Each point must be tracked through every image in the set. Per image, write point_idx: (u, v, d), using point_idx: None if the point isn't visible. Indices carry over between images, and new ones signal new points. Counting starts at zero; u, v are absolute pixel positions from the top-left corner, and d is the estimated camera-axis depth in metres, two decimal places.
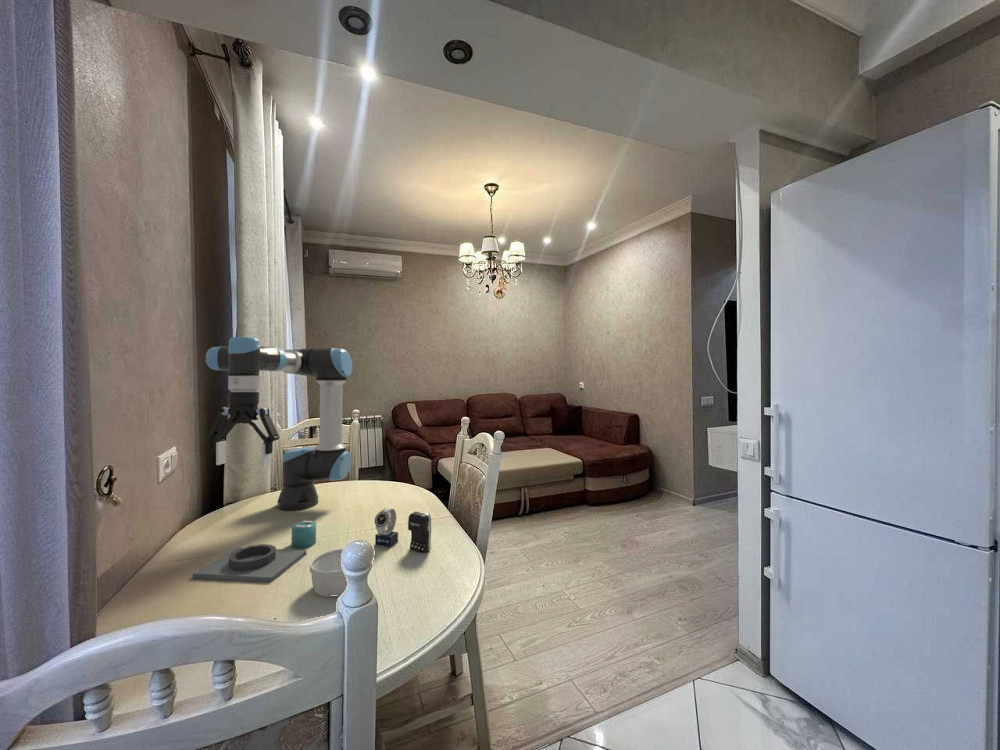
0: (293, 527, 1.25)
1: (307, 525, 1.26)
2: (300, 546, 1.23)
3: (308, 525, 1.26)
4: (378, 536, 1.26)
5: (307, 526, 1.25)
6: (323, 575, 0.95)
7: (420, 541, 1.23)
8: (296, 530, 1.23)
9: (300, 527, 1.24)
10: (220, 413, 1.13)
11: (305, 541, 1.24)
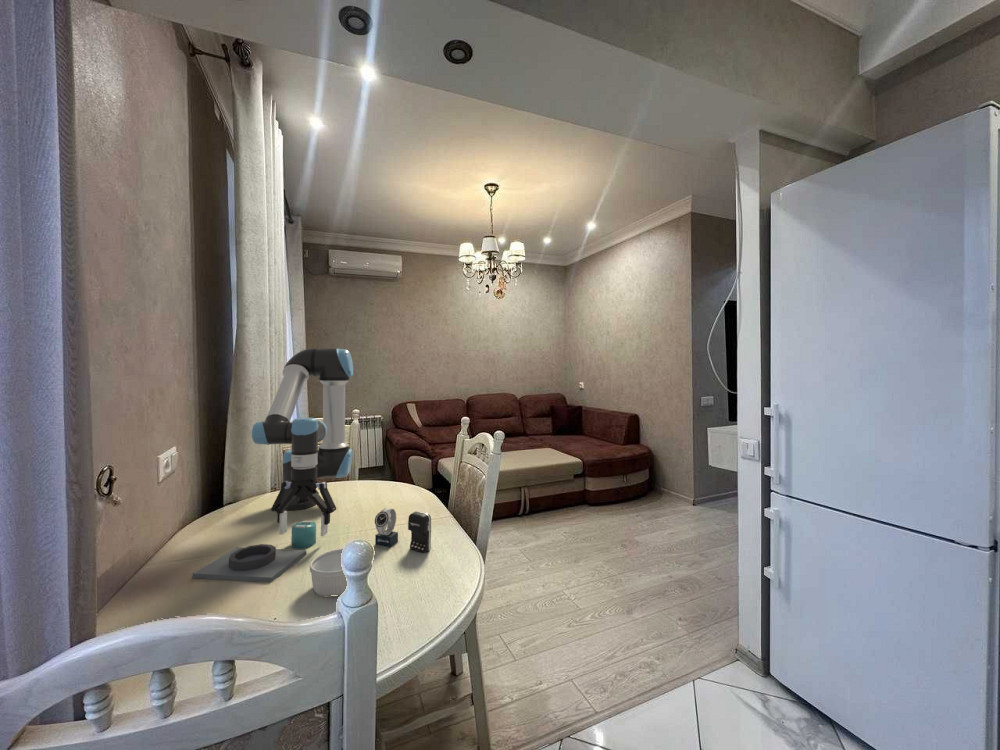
0: (293, 527, 1.25)
1: (307, 525, 1.26)
2: (300, 546, 1.23)
3: (308, 525, 1.26)
4: (378, 536, 1.26)
5: (307, 526, 1.25)
6: (323, 575, 0.95)
7: (420, 541, 1.23)
8: (296, 530, 1.23)
9: (300, 527, 1.24)
10: (283, 487, 1.26)
11: (305, 541, 1.24)
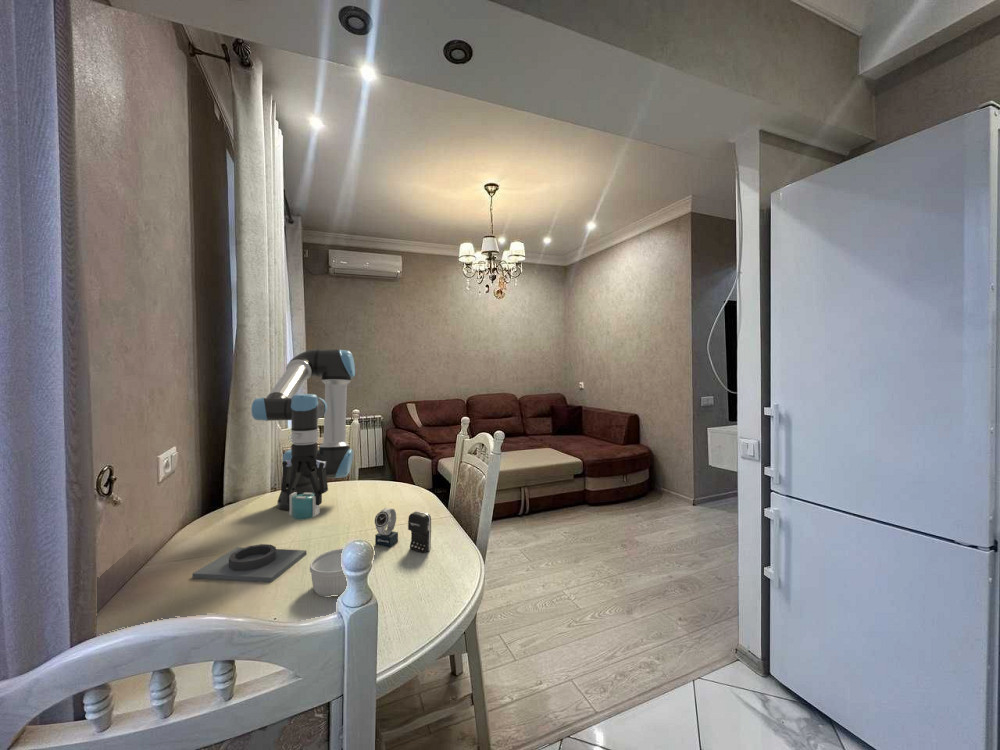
0: (294, 498, 1.25)
1: (308, 497, 1.27)
2: (301, 517, 1.24)
3: (309, 497, 1.27)
4: (378, 536, 1.26)
5: (308, 497, 1.26)
6: (323, 575, 0.95)
7: (420, 541, 1.23)
8: (297, 501, 1.23)
9: (301, 498, 1.24)
10: (285, 466, 1.26)
11: (306, 512, 1.24)
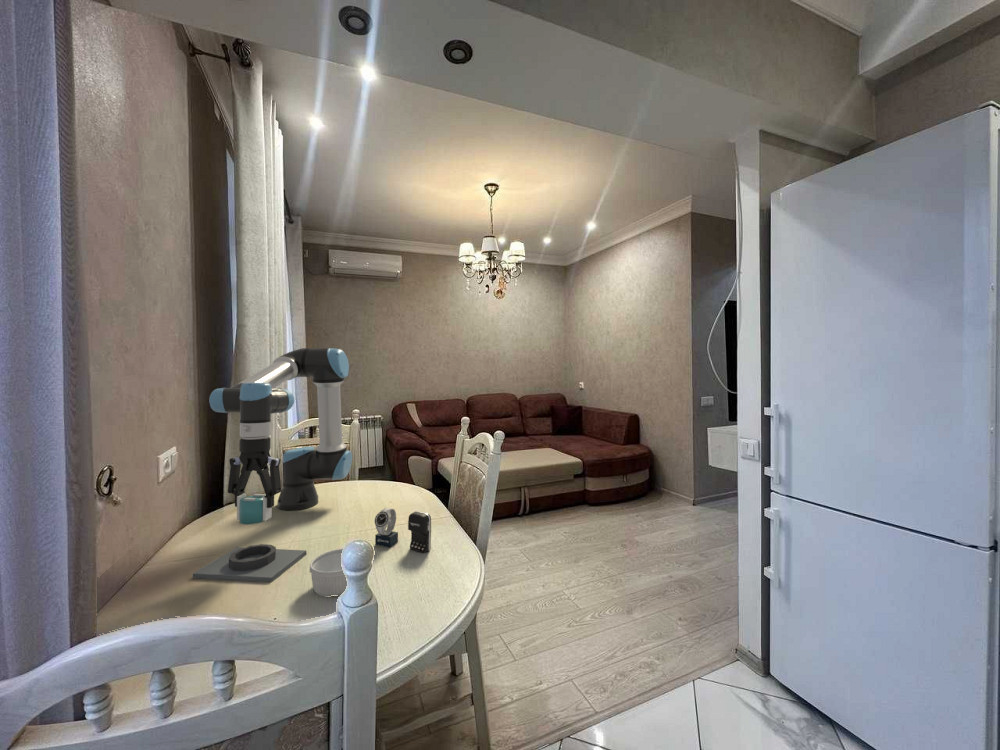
0: (241, 500, 1.10)
1: (258, 498, 1.12)
2: (249, 521, 1.09)
3: (259, 498, 1.12)
4: (378, 536, 1.26)
5: (258, 499, 1.11)
6: (323, 575, 0.95)
7: (420, 541, 1.23)
8: (244, 503, 1.09)
9: (249, 500, 1.10)
10: (232, 464, 1.11)
11: (255, 516, 1.09)
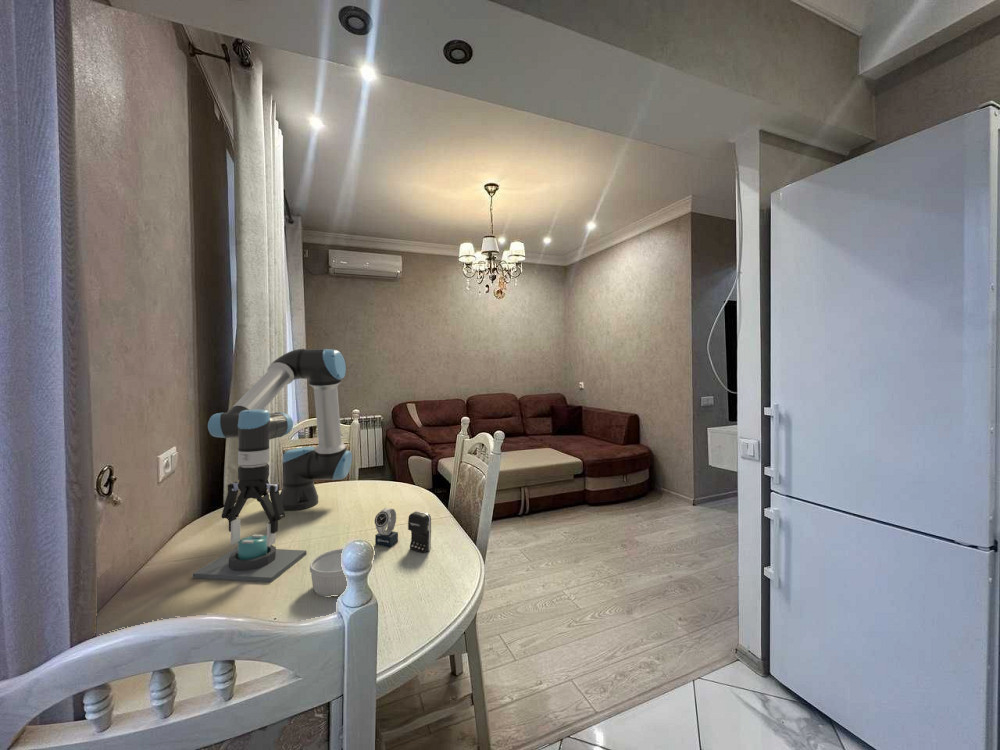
0: (240, 542, 1.10)
1: (256, 540, 1.12)
2: None
3: (258, 540, 1.12)
4: (378, 536, 1.26)
5: (256, 541, 1.11)
6: (323, 575, 0.95)
7: (420, 541, 1.23)
8: (242, 546, 1.09)
9: (247, 542, 1.09)
10: (230, 490, 1.11)
11: None
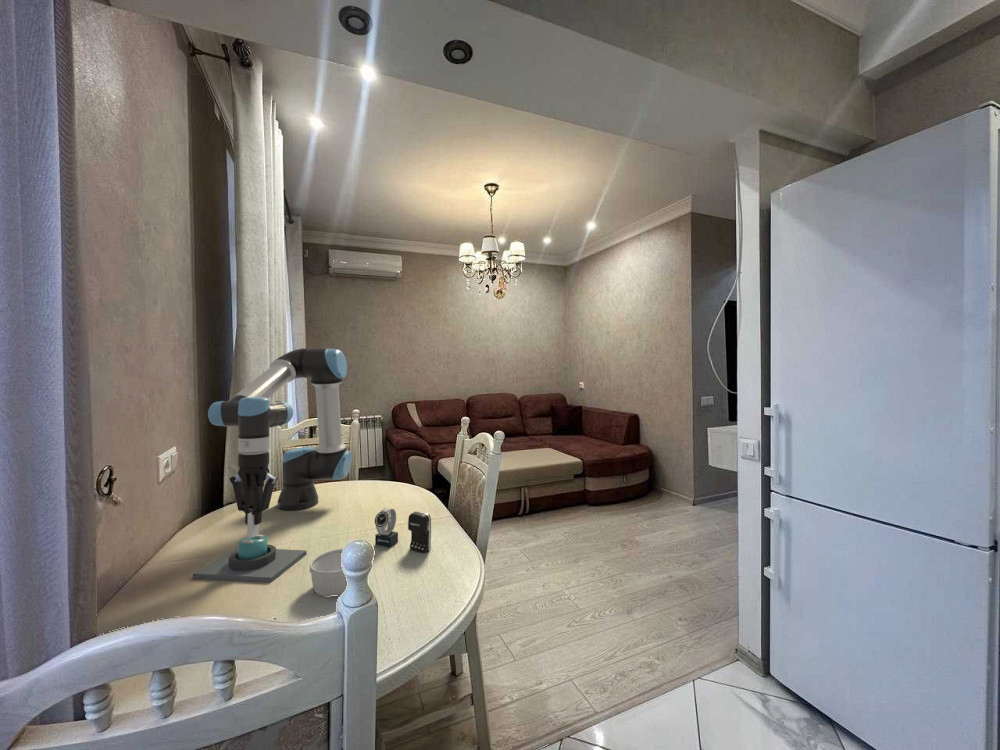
0: (240, 542, 1.10)
1: (257, 540, 1.12)
2: None
3: (258, 540, 1.12)
4: (378, 536, 1.26)
5: (256, 541, 1.11)
6: (323, 575, 0.95)
7: (420, 541, 1.23)
8: (243, 546, 1.09)
9: (248, 542, 1.09)
10: (234, 482, 1.11)
11: None
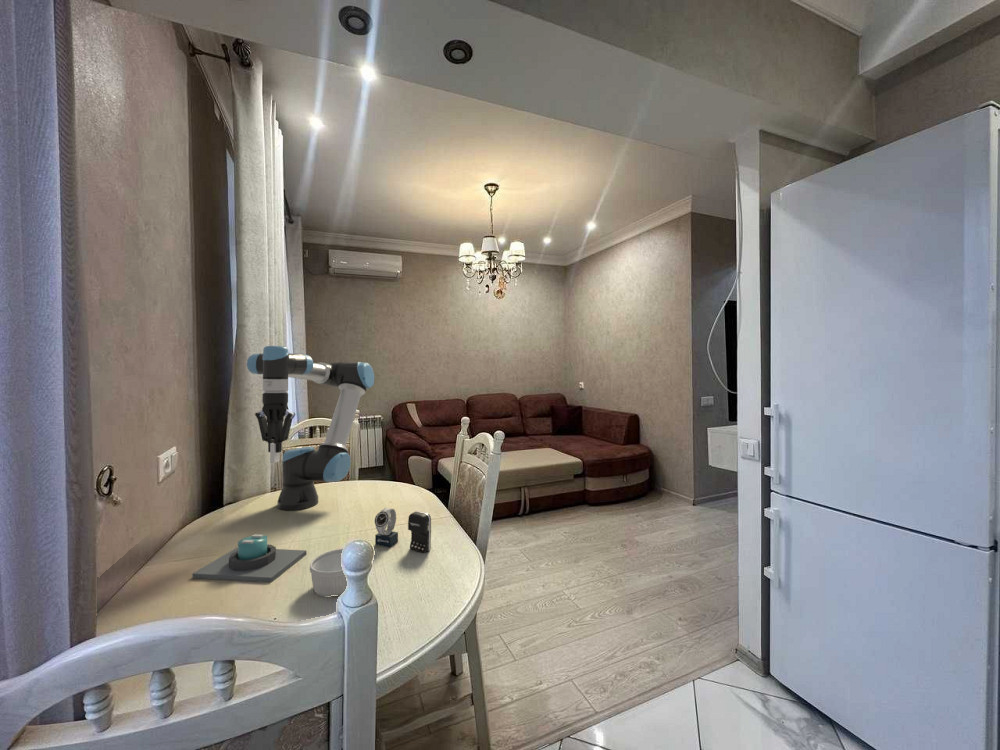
0: (240, 542, 1.10)
1: (256, 540, 1.12)
2: None
3: (257, 540, 1.12)
4: (378, 536, 1.26)
5: (256, 541, 1.11)
6: (323, 575, 0.95)
7: (420, 541, 1.23)
8: (242, 546, 1.09)
9: (247, 542, 1.09)
10: (258, 416, 1.33)
11: None
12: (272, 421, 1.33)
